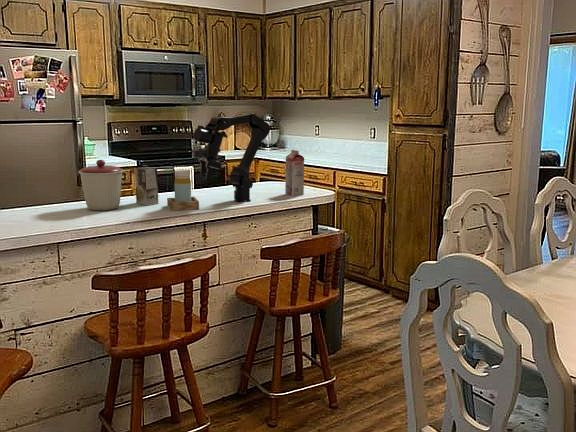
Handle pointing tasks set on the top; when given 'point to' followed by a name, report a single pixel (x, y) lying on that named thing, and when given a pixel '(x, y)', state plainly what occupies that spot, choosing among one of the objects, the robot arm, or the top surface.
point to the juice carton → (294, 174)
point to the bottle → (182, 186)
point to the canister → (101, 186)
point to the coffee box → (146, 185)
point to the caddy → (183, 204)
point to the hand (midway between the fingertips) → (204, 178)
